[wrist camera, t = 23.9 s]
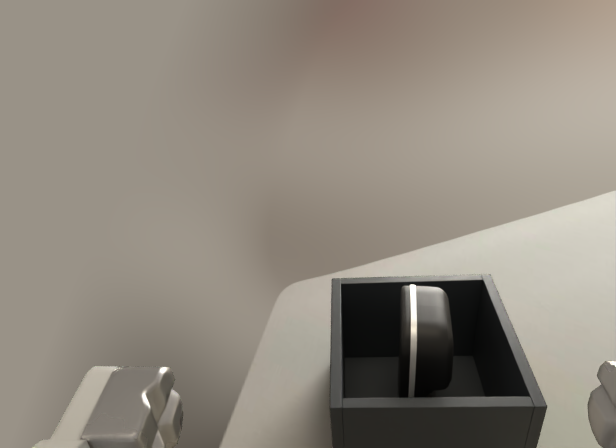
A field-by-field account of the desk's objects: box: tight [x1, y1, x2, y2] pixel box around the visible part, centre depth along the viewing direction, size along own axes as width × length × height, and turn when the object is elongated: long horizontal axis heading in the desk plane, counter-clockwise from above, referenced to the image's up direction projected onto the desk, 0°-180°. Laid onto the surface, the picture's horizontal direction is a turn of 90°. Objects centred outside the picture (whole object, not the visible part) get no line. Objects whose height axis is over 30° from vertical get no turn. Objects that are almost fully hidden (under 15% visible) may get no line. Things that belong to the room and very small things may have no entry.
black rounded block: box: [398, 285, 453, 398], centre depth 39 cm, size 7×4×11 cm, turn 171°
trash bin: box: [330, 274, 547, 448], centre depth 40 cm, size 14×14×10 cm
